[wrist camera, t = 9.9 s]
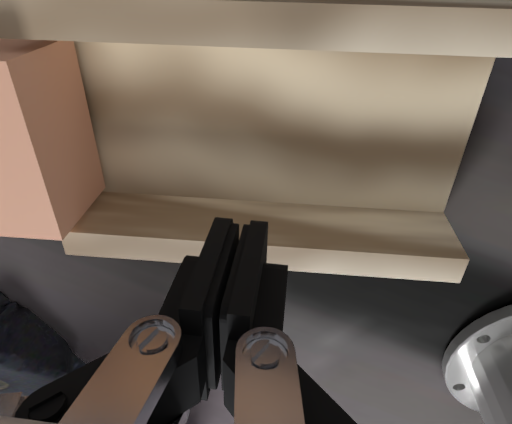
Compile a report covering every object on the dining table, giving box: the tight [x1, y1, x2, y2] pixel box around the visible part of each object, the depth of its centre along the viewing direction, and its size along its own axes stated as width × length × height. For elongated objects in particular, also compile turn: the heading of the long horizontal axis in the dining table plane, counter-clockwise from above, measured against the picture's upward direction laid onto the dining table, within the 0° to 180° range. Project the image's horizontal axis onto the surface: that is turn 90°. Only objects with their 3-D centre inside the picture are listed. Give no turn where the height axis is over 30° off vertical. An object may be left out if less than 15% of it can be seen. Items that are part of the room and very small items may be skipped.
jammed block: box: [0, 38, 105, 241], centre depth 19 cm, size 8×6×5 cm
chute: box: [0, 0, 512, 283], centre depth 19 cm, size 12×25×5 cm, turn 89°
